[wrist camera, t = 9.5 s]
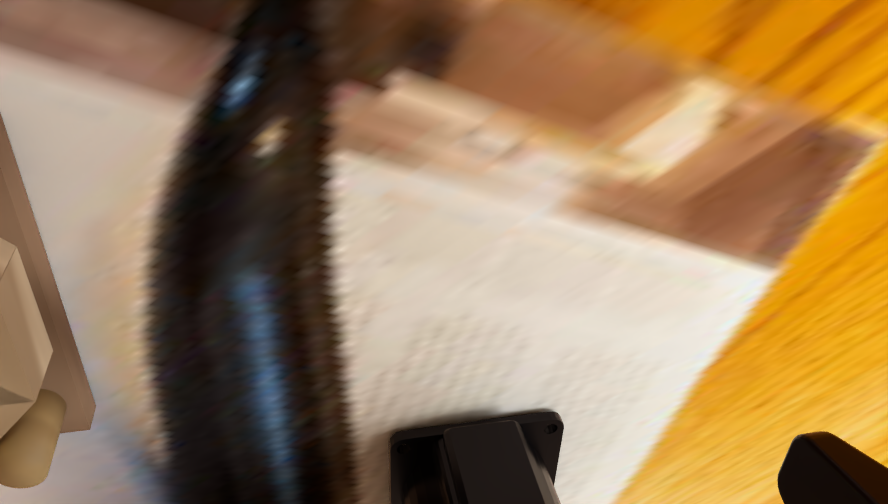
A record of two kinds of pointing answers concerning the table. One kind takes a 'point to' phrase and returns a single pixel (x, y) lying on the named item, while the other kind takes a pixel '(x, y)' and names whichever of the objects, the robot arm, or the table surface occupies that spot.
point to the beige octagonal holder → (32, 343)
